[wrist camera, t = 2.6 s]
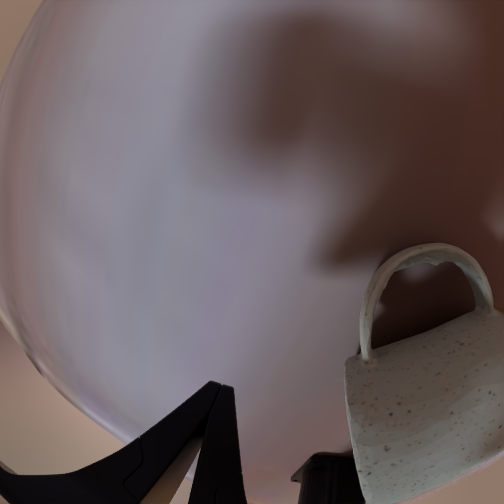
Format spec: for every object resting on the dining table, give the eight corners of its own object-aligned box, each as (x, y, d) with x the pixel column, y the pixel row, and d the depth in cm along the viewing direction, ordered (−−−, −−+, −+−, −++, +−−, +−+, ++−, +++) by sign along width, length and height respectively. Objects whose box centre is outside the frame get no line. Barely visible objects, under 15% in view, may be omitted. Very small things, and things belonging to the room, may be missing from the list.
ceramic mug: (484, 365, 11) (522, 459, 4) (369, 412, 14) (371, 520, 7) (474, 203, 9) (602, 282, 2) (310, 275, 11) (292, 442, 4)
